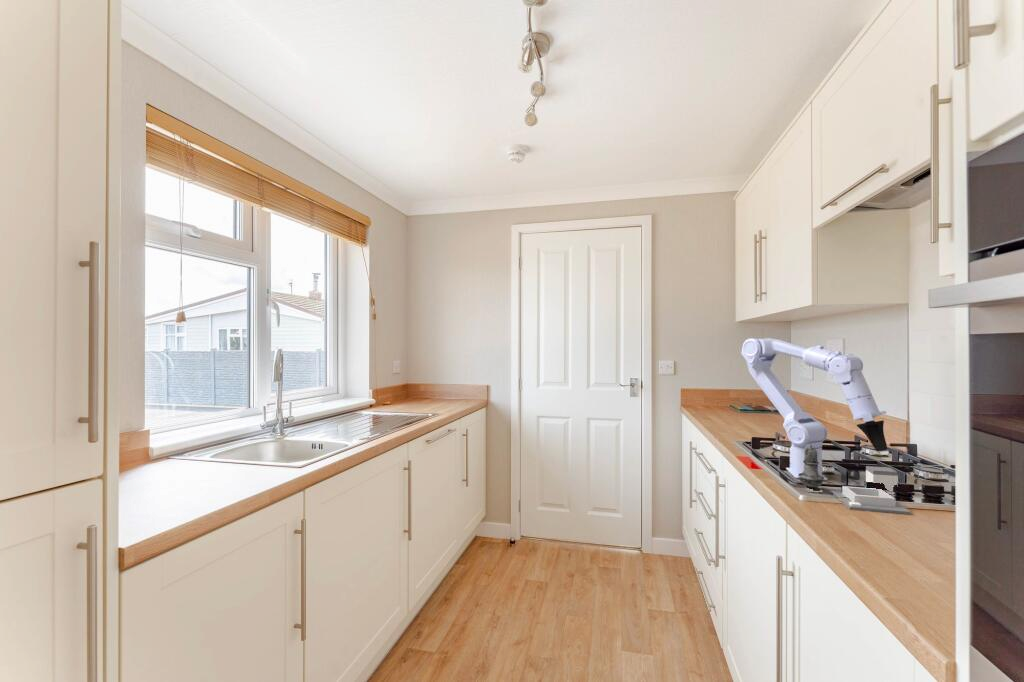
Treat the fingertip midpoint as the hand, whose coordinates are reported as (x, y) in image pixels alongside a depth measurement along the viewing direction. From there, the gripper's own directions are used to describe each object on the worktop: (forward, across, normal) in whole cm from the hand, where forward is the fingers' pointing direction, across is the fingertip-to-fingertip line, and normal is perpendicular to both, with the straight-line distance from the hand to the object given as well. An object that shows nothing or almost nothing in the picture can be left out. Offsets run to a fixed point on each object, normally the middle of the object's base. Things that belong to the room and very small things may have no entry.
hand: (882, 450), depth 115 cm
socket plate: (+11, -5, +7) cm, 14 cm away
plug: (+10, +6, +4) cm, 13 cm away
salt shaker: (+7, -3, +18) cm, 20 cm away
